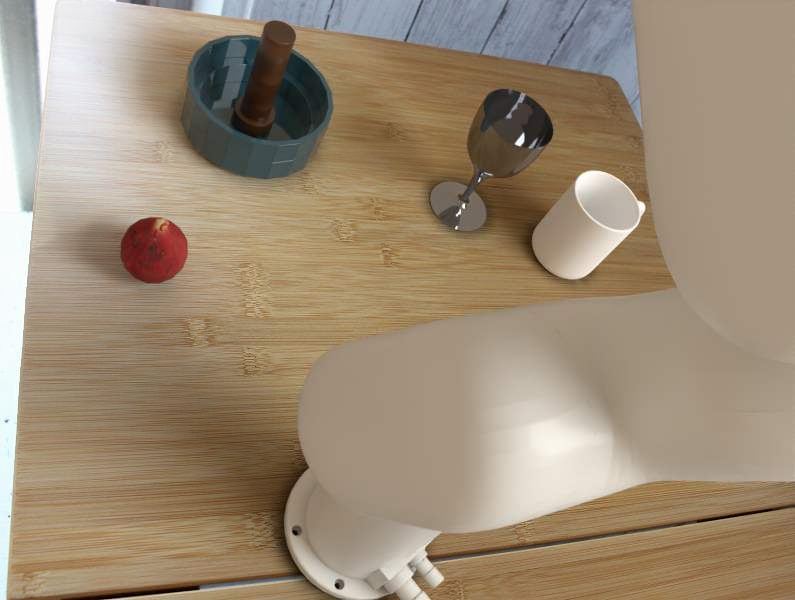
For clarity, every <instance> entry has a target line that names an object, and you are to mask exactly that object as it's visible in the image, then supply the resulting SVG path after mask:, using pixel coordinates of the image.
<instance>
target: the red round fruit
mask: <svg viewBox="0 0 795 600" xmlns="http://www.w3.org/2000/svg"><path fill="white" fill-rule="evenodd" d="M188 245H189V244H188V239H187V237H186V235H185V233H184V232H183V230H182V229H181V228H180V227H179V226H178V225H177V224H175V223H174V222H173V221H171V220H168V219H166V218H164V217H157V216H149V217H145V218H140V219H138V220H137V221H135V222H134V223H132V224H131V225H130V226H129V227H128V228H127V229H126V231H125V232H124V235H123V236H122V239H121V242H120V249H119V255H120V259H121V262H122V265H123V267H124V268H125V270H126V271H127V272H128V273H129V274H130V276H132V277H133V278H134V279H136V280H138V281H140V282H143V283H145V284H161V283H164V282H166V281H167V282H168V281H169V280H172V279H173V278H174V277H176V276H177V275H178V274H179V273H181V271H182V270H183V269H184V267H185V264H186V262H187V259H188V256H189V255H188V254H189V247H188Z"/></svg>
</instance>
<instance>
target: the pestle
mask: <svg viewBox="0 0 795 600" xmlns="http://www.w3.org/2000/svg"><path fill="white" fill-rule="evenodd" d="M260 37H261V38H260V42H259V45H258V49H257V52H256V55H255V59H254V62H253V66H252V69H251V72H250V76H249V79H248V82H247V86H246V89H245V93H244V96H242V97H240V98H239V99H238V100H237V101H236V103H235V106H234V110H233V113H232V117H231V121H232V124H233V126H234V128H235V129H236V130H237V131H238V132H240V133H243V134H245V135H248V136H251V137H253V138H261V137H264V136H266V135H267V134H268V133H269V132H270V130H271V128H272V125H273V122H274V119H275V110H274V108H273V104H274V101H275V99H276V96H277V93H278V90H279V87H280V84H281V81H282V78H283V75H284V72H285V69H286V66H287V63H288V60H289V57H290V54H291V51H292V49H294V45H295V43H296V39H297V33H296V30H295V29H294V28H293V27H292V26H291V25H290V24H288V23H287V22H284V21H282V20H277V19H276V20H269V21H267V22H266V23H265V24H264V26H263V28H262V32H261V35H260Z"/></svg>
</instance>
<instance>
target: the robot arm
mask: <svg viewBox="0 0 795 600" xmlns="http://www.w3.org/2000/svg"><path fill="white" fill-rule="evenodd" d="M630 2H631V3H630V4H631V12H632V22H633V23H632V24H633V34H634V45H635V46H634V47H635V55H636V69H637V71H636V72H637V82H638V93H639V106H640V107H639V108H640V120H641V130H642V131H641V132H642V143H643V154H644V166H645V167H644V168H645V176H646V182H647V190H648V197H649V203H650V210H651V214H652V215H651V216H652V221H653V227H654V231H655V234H656V238H657V241H658V245H659V247H660V252H661V254H662V257H663V260H664V263H665V265H666V268H667V270H668V273H669V274H670V276H671V278H672V280H673V282H674V284H675V286H676V287H671V288H666V289H660V290H656V291H649V292H643V293H636V294H629V295H619V296H593V297H591V296H590V297H575V298H567V299H558V300H557V299H556V300H550V301H544V302H543V301H542V302H536V303H531V304H525V305H519V306H513V307H505V308H499V309H494V310H488V311H481V312H476V313H469V314H463V315H459V316H453V317H452V316H451V317H447V318H442V319H437V320H432V321H428V322H423V323H420V324H415V325H409V326H406V327H402V328H398V329H394V330H390V331H385V332H382V333H378V334H374V335H370V336H366V337H361V338H358V339H353V340H350V341H346V342H342V343H339V344H337V345H334V346H332V347H330V348H329V349H327V350H326V351H325V352H323V353H322V354H321V355H320V356H319V357H318V359H316V361H315V362H314V363H313V365H312V366H311V367H310V369H309V371H308V372H307V374H306V376H305V378H304V381H303V384H302V387H301V390H300V393H299V398H298V404H297V411H296V412H297V413H296V414H297V415H296V424H297V425H296V427H297V435H298V440H299V444H300V448H301V451H302V454H303V457H304V459H305V462H306V464H307V466H308V469H307V468H306V470H305V471H304V472H303V473H302V474H301V476H300V477H299V478H298V479H297V481H296V483H295V484H294V486H292V487H293V488H292V489H291V490H290V492H289V495H288V497H287V498H288V499H287V501H286V503H285V504H286V505H285V510H284V515H283V527H284V530H283V531H284V536H285V541H286V544H287V548H288V551H289V554H290V555H291V558H292V560H293V561H294V563H295V565H296V566H297V568H298V570H299V571H300V573H302V575H303V576H304V577H305V578H306V579H307V580H308V581H309V582H310V583H311V584H312V585H314V586H315V587H317V588H318V589H319V590H321V591H322V592H323V593H326V594H328V595H331V596H332V597H335V598H337V599H341V600H378V599H381V598H383V597H386V596H388V595H393V594H394V593H395V594H396V595H397V597H398V598H399V599H400V600H432V599H431V598H430V597H429V596H428V594H427V593H426V591H424V590H423V589H421V588H420V586H419V585H418V584H417V583H416V581H415V580H414V579H413V578H412V577H413V576H414V574H415V573H416V571H417V572H418V573H419V574H420V575H421V577H422V579H423V580H424V581H425V583H426V584H427V585H428V586H429V588H430V589H431V590H434V589H435V588H436V587H438V586H439V585H440V584H441V583H442V582H444V580H445V577H444V576H443V574H442V573H441V572H440V571H439V569H438V568H437V567H436V565H435V566H434V564H433V563H432V562H431V561H430V559H428V557H427V556H428V552H427V551H426V547H428V546H429V544H430V543H432V541H434V539H435V538H437V537H438V536H439V535H441V534H442V533H447V534H468V533H469V534H470V533H478V532H485V531H492V530H497V529H501V528H506V527H510V526H513V525H517V524H521V523H524V522H527V521H531V520H534V519H537V518H541V517H543V516H544V517H545V516H548V515H549V514H554V513H556V512H559V511H563V510H566V509H568V508H572V507H575V506H578V505H581V504H586V503H589V502H591V501H595V500H596V499H600V498H604V497H608V496H610V495H613V494H616V493H619V492H622V491H625V490H629V489H631V488H634V487H636V486H637V487H638V486H640V485H644V484H648V483H657V482H669V481H672V482H673V481H674V482H676V481H677V482H679V481H681V482H682V481H683V482H685V481H686V482H687V481H689V482H717V483H737V482H738V483H741V482H742V483H743V482H769V483H770V482H772V483H773V482H774V483H776V482H778V483H779V482H781V483H787V482H789V483H791V482H793V483H794V482H795V0H630ZM293 532H295V533H296V535H295V534H294V533H293ZM335 585H337V586H338V588H337V587H336V586H335Z"/></svg>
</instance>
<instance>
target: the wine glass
mask: <svg viewBox="0 0 795 600" xmlns="http://www.w3.org/2000/svg"><path fill="white" fill-rule="evenodd" d="M553 137H554V125H553V122H552V119H551V117H550V115H549V114H548V113H547V111H546V110H545V109H544V107H543V106H542V104H540V103H538V102H537V101H536V100H535V99H534V98H533V97H531V96H529V95H527V94H525V93H523V92H521V91H520V90H519V91H518V90H516V89H510V88H499V89H494V90H492V91H491V92H489V93H488V94H487V95H486V97H485V98H484V99H483V100H482V102H481V104H480V105H479V107H478V109H477V111H476V112H475V114H474V116H473V119H472V122H471V124H470V127H469V130H468V134H467V139H466V149H467V153H468V157H469V159H470V162H471V164H472V166H473V174H472V177H471V179H470V181H469V183H468V185H465V184H463V183H461V182H457V181H443V182H440V183H438V184H436V185H435V186H434V187H433V188H432V189H431V191H430V196H429V203H430V207H431V209H432V211H433V213H434V215H435V216H436V217H437V219H438V220H439V221H441V223H443V224H444V225H445V226H447V227H449V228H451V229H452V230H455V231H459V232H462V233H463V232H464V233H470V232H474V231H477V230H479V229H481V228H482V227H483V226H484V224H485V222H486V220H487V209H486V205H485V203H484V201H483V200H482V198H481V197H480V195H479V194H478V193H477V192H476V191H475V190H476V189H477V187H478V186H479V185H480V184H481V183H482V182H483V181H485V180H488V179H508V178H511V177H514V176H516V175H518V174H521V172H523V171H524V170H526V169H527V168H528V167H530V166H531V165H532V164H533V163H534V162H535V161H536V160H537V159H538V158H539V157H540V155H541V154H542V153H543V152H544V151H545V149H546V148H547V147H548V145H549V144H550V142H552V139H553Z"/></svg>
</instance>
